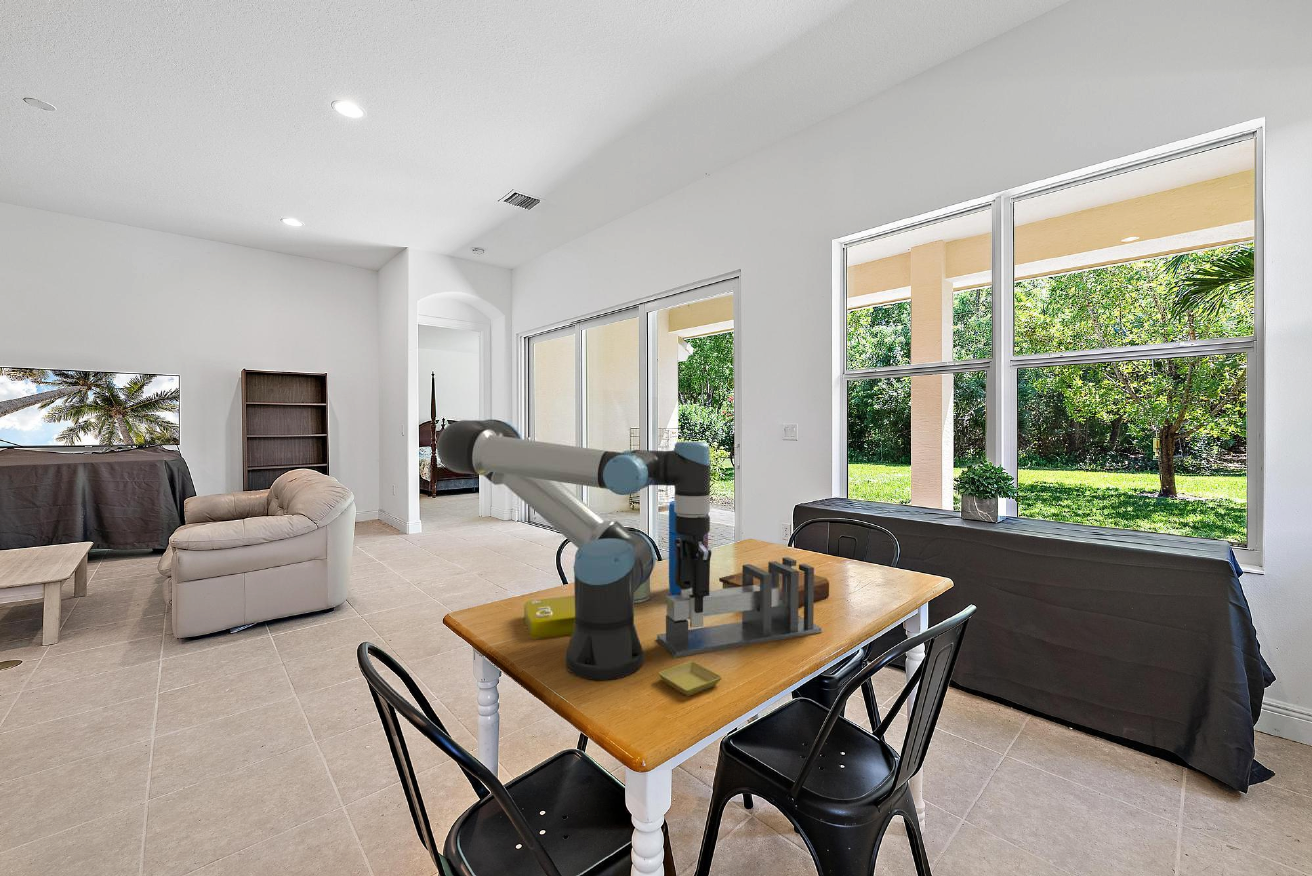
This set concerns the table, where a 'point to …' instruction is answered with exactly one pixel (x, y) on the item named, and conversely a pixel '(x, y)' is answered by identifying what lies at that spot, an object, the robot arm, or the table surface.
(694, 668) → the saucer
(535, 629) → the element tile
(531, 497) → the robot arm
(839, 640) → the table surface
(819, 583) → the diary
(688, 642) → the grey slotted frame stand
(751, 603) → the light grey square rod
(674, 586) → the thermos
